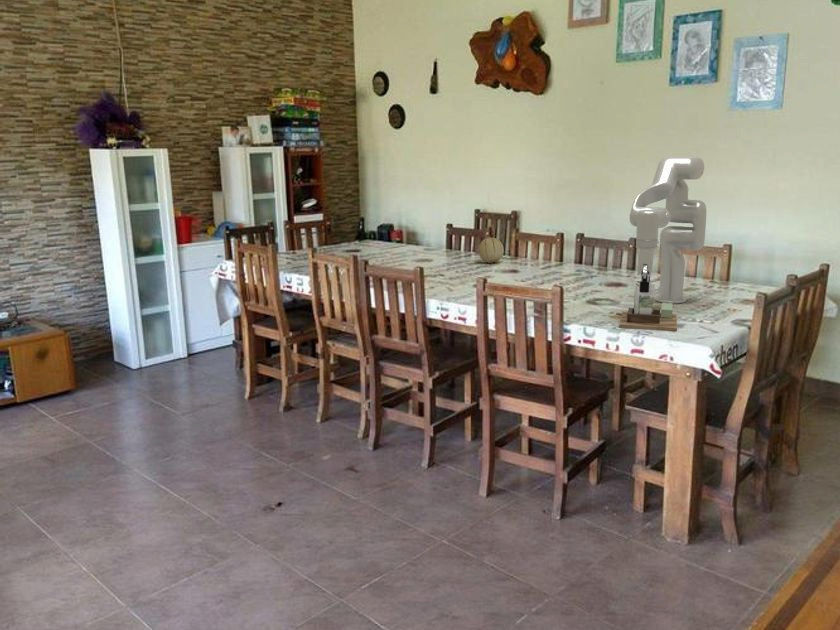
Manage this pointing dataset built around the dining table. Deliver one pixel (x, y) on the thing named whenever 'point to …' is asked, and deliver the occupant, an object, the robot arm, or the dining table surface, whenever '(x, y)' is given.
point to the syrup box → (644, 299)
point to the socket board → (647, 321)
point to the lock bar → (666, 310)
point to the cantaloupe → (491, 250)
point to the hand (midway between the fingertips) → (644, 289)
